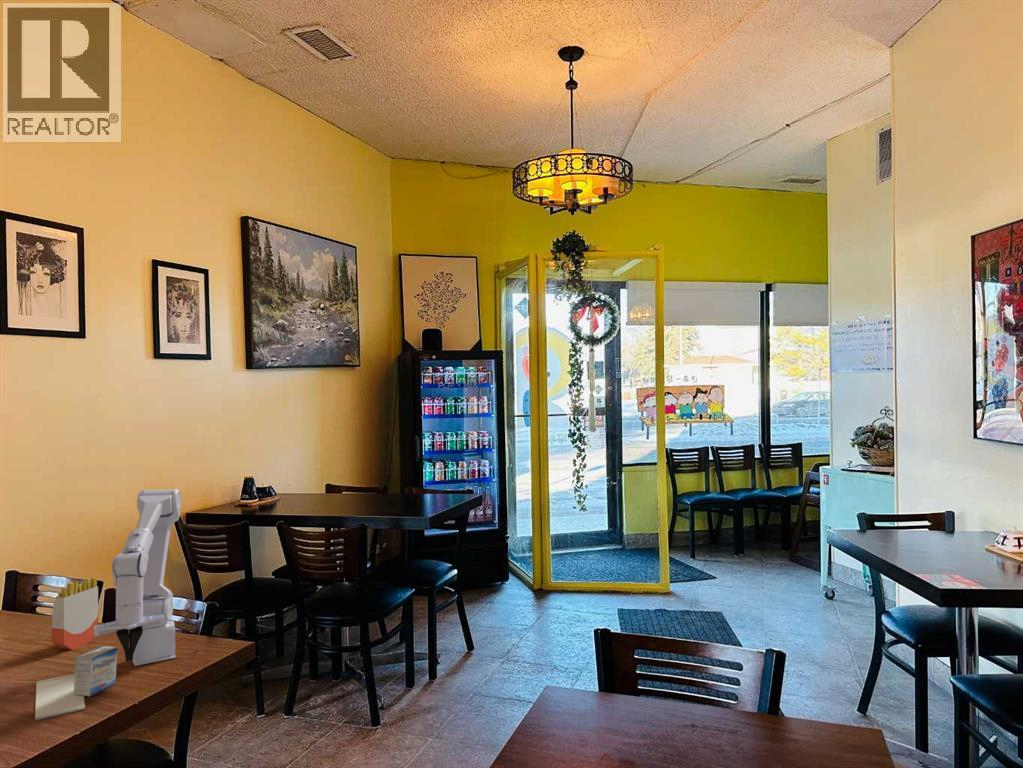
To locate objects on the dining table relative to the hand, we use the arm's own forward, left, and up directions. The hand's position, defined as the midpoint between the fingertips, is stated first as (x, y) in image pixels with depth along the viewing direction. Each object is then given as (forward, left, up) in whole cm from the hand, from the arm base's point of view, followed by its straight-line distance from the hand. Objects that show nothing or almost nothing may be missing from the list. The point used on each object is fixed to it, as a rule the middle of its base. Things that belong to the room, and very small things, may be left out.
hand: (129, 659), depth 162 cm
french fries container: (+10, -36, -6) cm, 38 cm away
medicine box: (+7, 0, -6) cm, 9 cm away
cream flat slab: (+14, -1, -6) cm, 15 cm away
